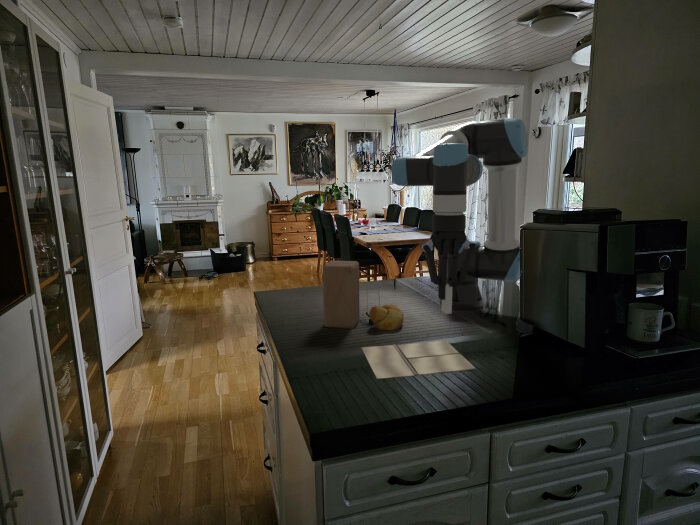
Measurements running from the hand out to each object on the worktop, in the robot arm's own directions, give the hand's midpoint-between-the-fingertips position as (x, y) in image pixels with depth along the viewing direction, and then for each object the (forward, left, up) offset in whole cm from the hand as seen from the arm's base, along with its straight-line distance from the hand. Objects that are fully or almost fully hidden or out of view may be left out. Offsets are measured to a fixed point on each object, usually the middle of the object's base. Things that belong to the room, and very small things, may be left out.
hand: (446, 311), depth 103 cm
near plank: (+1, 0, -14) cm, 14 cm away
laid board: (+13, -5, -14) cm, 20 cm away
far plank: (+1, -9, -14) cm, 17 cm away
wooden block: (+20, -38, -15) cm, 46 cm away
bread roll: (+6, -32, -15) cm, 35 cm away
